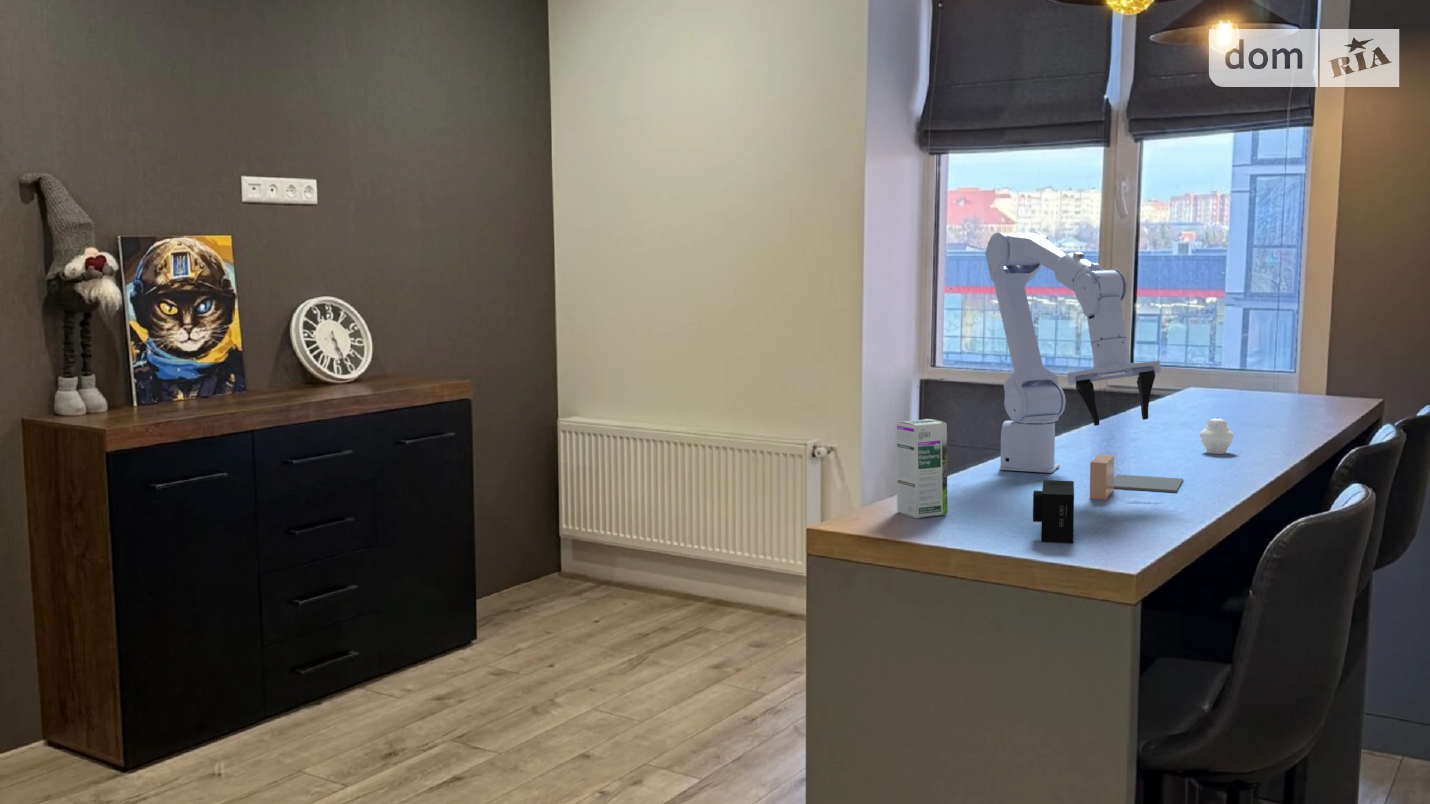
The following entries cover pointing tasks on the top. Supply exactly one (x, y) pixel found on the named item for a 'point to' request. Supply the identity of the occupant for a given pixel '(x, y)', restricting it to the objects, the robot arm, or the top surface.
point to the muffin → (1216, 436)
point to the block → (1101, 476)
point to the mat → (1147, 483)
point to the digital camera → (1055, 511)
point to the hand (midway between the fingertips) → (1121, 422)
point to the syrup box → (921, 468)
